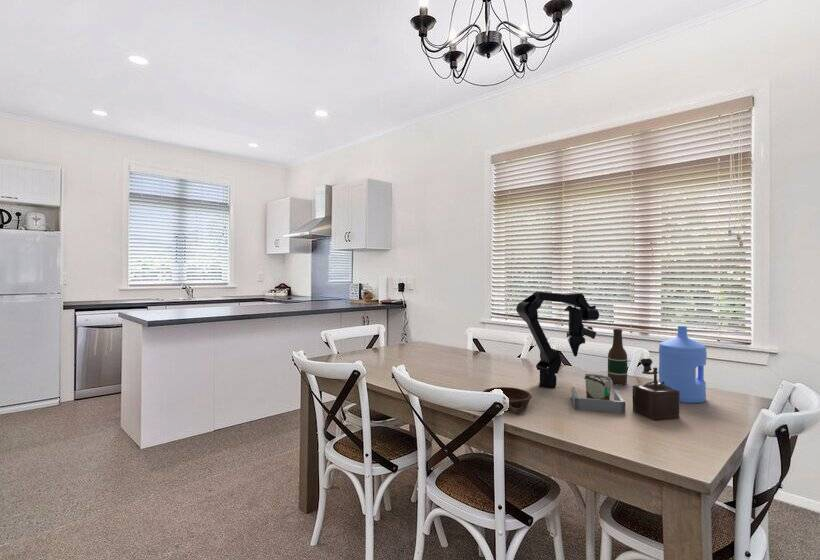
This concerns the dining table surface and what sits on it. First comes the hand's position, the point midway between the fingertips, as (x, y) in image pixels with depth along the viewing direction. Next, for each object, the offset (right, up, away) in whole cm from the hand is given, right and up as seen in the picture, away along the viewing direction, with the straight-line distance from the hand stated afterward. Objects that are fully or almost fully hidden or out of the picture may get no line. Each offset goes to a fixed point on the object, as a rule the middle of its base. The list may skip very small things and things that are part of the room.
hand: (575, 356), depth 184 cm
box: (-4, -13, -29) cm, 32 cm away
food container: (-1, -13, -28) cm, 31 cm away
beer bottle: (+19, -12, +1) cm, 23 cm away
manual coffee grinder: (+11, -13, -38) cm, 42 cm away
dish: (-37, -13, -30) cm, 50 cm away
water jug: (+33, -13, -21) cm, 41 cm away
